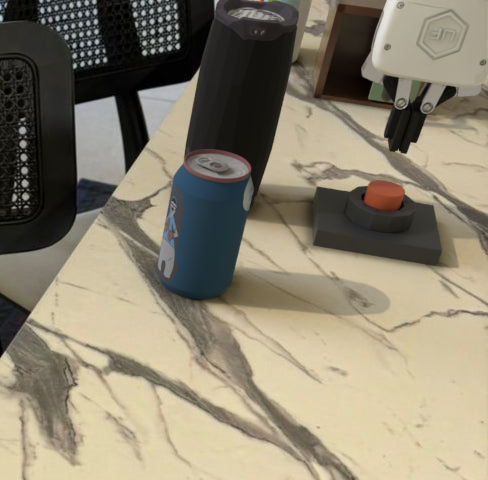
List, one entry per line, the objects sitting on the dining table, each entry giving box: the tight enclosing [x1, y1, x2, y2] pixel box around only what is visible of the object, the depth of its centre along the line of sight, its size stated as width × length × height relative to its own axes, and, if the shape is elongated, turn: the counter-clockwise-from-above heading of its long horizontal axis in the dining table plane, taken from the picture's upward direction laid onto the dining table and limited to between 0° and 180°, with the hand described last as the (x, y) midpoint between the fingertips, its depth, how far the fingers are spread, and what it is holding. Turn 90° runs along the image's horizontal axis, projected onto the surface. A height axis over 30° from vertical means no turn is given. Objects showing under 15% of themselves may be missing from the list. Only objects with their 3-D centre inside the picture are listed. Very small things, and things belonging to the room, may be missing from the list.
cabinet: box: [312, 0, 425, 111], centre depth 130 cm, size 14×10×12 cm
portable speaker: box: [182, 0, 299, 211], centre depth 101 cm, size 9×9×20 cm
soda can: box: [156, 149, 254, 300], centre depth 91 cm, size 7×7×12 cm
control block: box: [312, 185, 443, 267], centre depth 103 cm, size 12×10×4 cm
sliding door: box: [368, 80, 422, 103], centre depth 124 cm, size 6×5×9 cm
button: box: [363, 179, 406, 211], centre depth 102 cm, size 4×4×2 cm
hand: (396, 146), depth 98 cm, fingers closed
